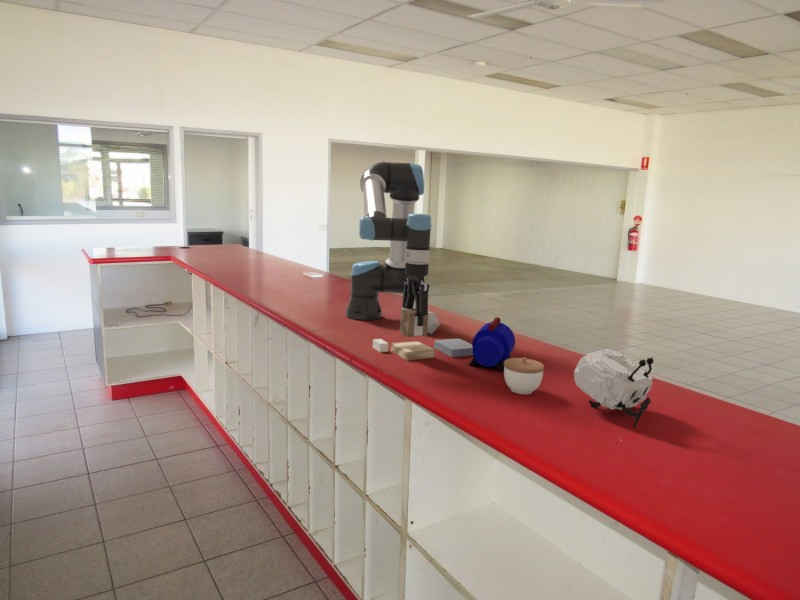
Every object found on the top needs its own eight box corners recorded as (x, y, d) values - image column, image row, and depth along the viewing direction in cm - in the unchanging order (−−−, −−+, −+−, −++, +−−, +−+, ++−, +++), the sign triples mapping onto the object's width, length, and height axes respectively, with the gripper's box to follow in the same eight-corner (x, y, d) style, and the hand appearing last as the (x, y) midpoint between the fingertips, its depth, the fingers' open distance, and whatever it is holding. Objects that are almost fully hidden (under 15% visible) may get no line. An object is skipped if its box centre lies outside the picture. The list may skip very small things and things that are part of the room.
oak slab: (390, 351, 189) (390, 342, 188) (416, 349, 193) (417, 340, 192) (406, 361, 178) (407, 352, 177) (434, 359, 182) (434, 350, 182)
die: (442, 333, 218) (433, 310, 221) (442, 327, 209) (433, 303, 213) (421, 340, 217) (412, 317, 221) (420, 334, 209) (411, 310, 212)
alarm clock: (514, 364, 179) (518, 318, 177) (504, 374, 168) (508, 325, 166) (477, 358, 184) (481, 313, 182) (465, 367, 173) (469, 320, 171)
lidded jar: (494, 385, 158) (497, 353, 156) (526, 382, 162) (529, 351, 160) (516, 399, 148) (519, 364, 146) (549, 395, 152) (553, 361, 150)
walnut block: (399, 332, 185) (400, 308, 184) (418, 331, 188) (419, 308, 187) (407, 337, 180) (409, 312, 178) (426, 335, 183) (428, 311, 181)
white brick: (372, 348, 191) (372, 339, 190) (380, 347, 192) (381, 338, 192) (379, 352, 186) (380, 343, 185) (388, 352, 187) (388, 343, 186)
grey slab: (433, 348, 195) (434, 340, 194) (458, 346, 199) (459, 338, 198) (451, 358, 184) (452, 349, 184) (477, 356, 188) (477, 347, 188)
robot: (621, 442, 133) (652, 380, 125) (557, 393, 147) (582, 334, 139) (659, 427, 143) (690, 368, 136) (596, 382, 157) (621, 327, 149)
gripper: (393, 259, 187) (390, 327, 191) (420, 266, 170) (416, 340, 174) (413, 259, 190) (410, 326, 194) (442, 266, 173) (437, 339, 177)
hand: (413, 332), depth 184 cm, fingers closed on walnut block, 6 cm apart
